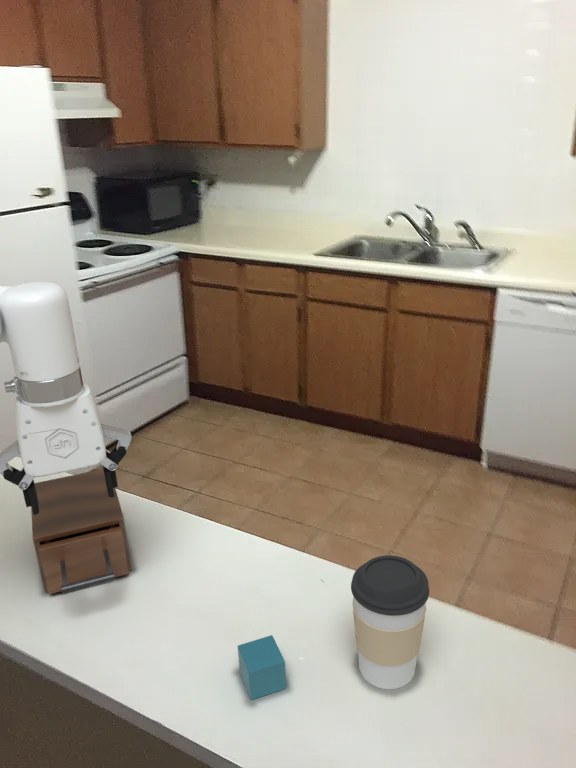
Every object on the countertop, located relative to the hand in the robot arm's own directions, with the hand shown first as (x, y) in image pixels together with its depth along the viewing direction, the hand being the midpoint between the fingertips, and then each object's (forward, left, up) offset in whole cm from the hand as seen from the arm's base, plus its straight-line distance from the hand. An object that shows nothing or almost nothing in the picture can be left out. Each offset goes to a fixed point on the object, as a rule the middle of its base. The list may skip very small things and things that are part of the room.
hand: (73, 500), depth 89 cm
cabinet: (0, +12, -17) cm, 21 cm away
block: (+18, -23, -17) cm, 34 cm away
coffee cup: (+33, -27, -17) cm, 46 cm away
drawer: (0, +6, -16) cm, 17 cm away
